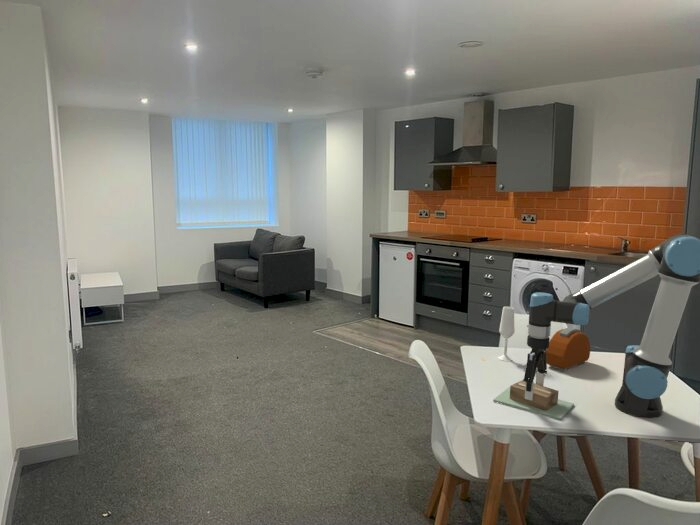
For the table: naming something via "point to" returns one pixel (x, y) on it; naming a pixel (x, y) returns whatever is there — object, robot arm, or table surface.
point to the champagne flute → (507, 328)
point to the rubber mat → (554, 412)
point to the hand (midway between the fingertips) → (533, 394)
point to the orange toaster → (568, 349)
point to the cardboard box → (535, 395)
